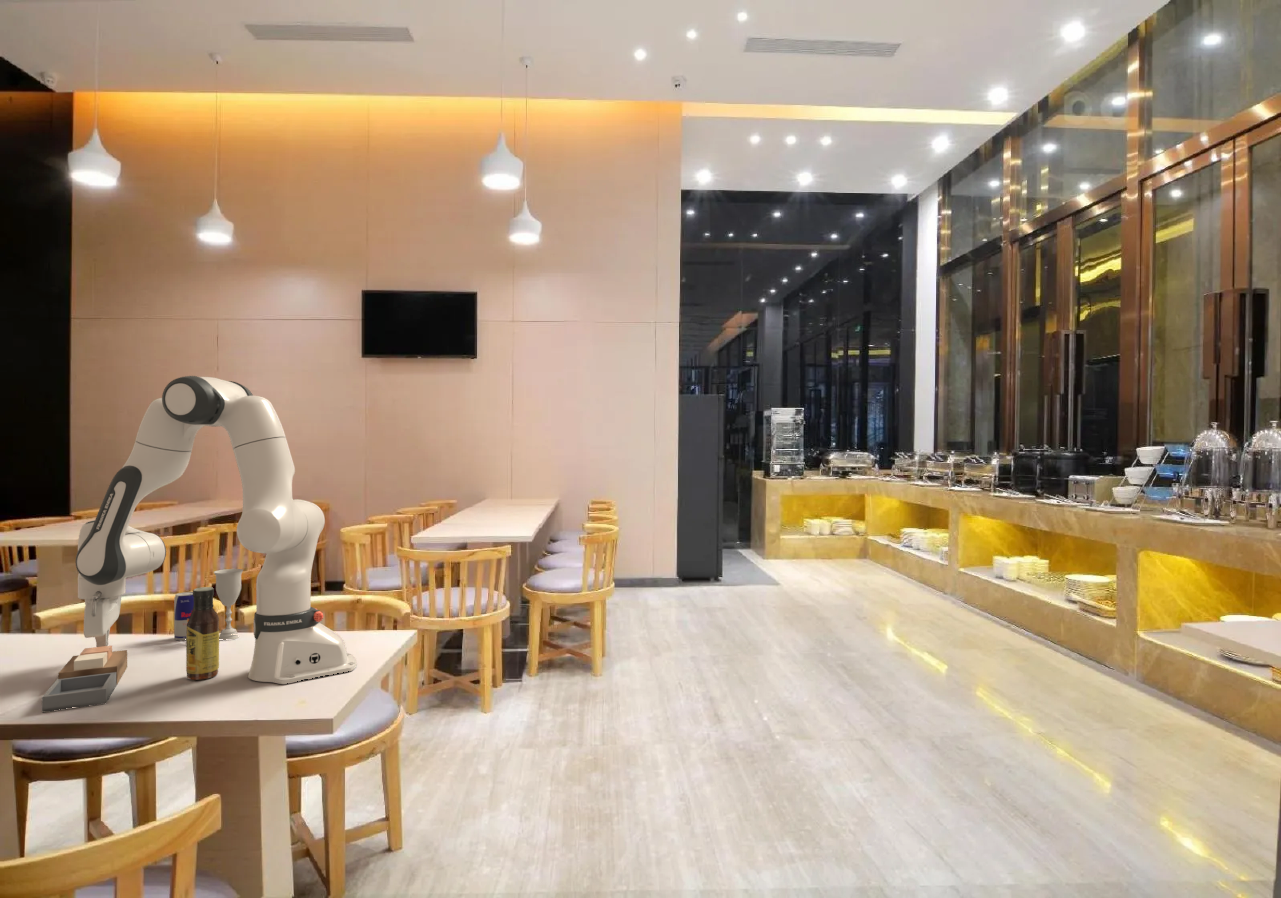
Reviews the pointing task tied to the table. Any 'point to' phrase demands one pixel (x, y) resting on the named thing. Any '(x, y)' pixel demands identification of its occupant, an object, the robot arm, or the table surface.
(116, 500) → the robot arm
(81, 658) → the cream block
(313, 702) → the table surface
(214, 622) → the sauce bottle
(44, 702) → the charcoal tray
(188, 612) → the energy drink
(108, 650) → the peach rectangular prism
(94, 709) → the table surface
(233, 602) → the chalice
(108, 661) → the walnut board
